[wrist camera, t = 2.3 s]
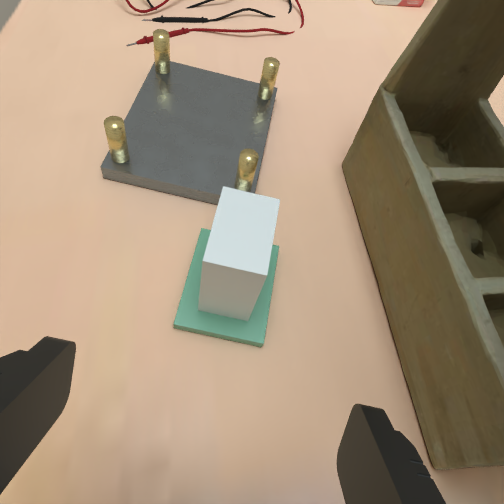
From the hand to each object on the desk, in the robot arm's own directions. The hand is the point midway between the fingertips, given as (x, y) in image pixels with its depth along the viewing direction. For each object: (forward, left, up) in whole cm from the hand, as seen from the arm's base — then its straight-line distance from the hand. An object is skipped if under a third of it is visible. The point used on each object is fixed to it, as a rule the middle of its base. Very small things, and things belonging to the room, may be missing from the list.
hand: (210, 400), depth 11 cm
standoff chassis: (-22, -20, -18) cm, 34 cm away
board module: (-11, -6, -18) cm, 22 cm away
